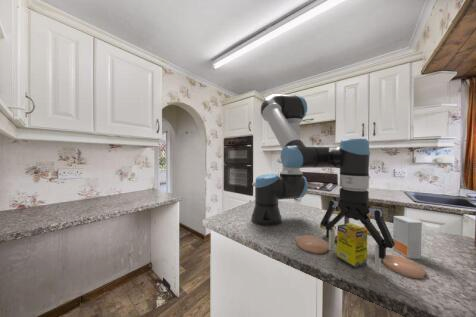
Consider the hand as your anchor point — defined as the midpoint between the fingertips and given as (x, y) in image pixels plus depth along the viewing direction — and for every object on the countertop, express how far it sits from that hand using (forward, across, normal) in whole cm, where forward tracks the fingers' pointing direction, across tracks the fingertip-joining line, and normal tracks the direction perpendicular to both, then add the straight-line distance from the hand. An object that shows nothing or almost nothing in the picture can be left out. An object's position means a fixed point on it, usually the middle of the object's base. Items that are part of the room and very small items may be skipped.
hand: (352, 257), depth 54 cm
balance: (+1, -6, +11) cm, 13 cm away
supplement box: (+2, 0, 0) cm, 2 cm away
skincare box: (+2, +9, +20) cm, 22 cm away
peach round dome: (+1, -13, -1) cm, 13 cm away
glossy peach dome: (+1, +10, +9) cm, 14 cm away
